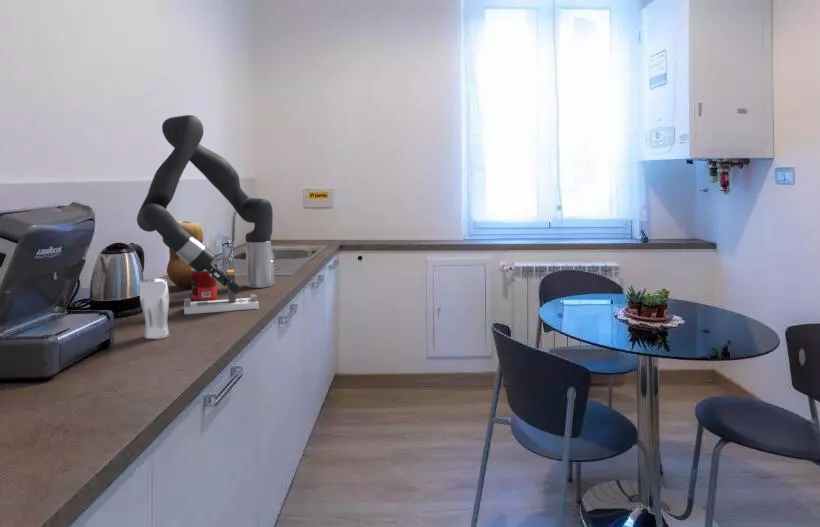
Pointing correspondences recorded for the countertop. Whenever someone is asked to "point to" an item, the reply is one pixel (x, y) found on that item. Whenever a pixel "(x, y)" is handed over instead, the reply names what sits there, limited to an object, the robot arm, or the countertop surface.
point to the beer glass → (155, 307)
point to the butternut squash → (177, 267)
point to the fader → (230, 293)
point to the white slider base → (220, 305)
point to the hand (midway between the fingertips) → (237, 290)
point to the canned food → (203, 286)
